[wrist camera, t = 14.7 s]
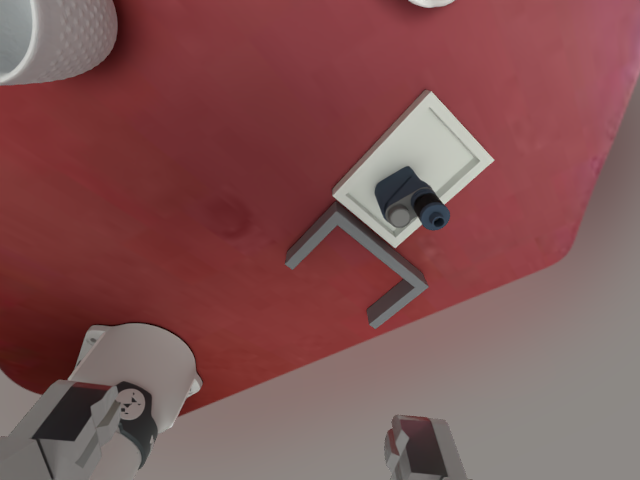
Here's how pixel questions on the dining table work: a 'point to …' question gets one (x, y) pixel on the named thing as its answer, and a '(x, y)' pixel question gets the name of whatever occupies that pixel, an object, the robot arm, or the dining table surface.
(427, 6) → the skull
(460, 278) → the dining table surface
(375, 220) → the tray
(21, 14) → the mug
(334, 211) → the bay
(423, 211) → the vaping device
